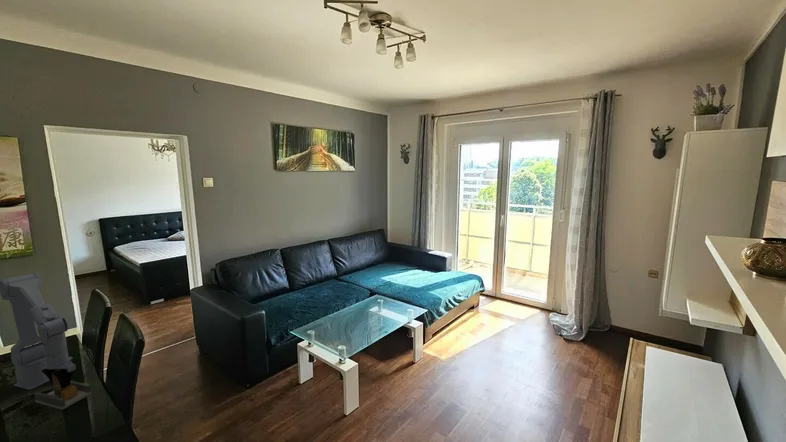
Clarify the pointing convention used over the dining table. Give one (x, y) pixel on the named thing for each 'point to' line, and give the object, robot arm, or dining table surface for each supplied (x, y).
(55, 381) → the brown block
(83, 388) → the grey tray
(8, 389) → the dining table surface
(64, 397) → the block
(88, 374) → the dining table surface
